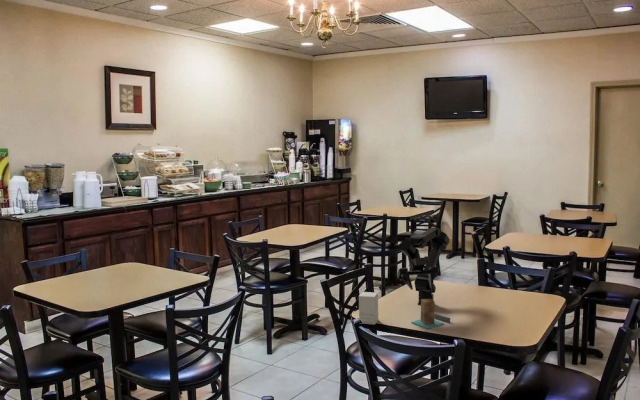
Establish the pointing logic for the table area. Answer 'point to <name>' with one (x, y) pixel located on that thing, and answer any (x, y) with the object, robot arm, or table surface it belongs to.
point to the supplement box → (368, 307)
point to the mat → (428, 326)
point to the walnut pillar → (427, 311)
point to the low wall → (442, 317)
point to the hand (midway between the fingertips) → (422, 289)
